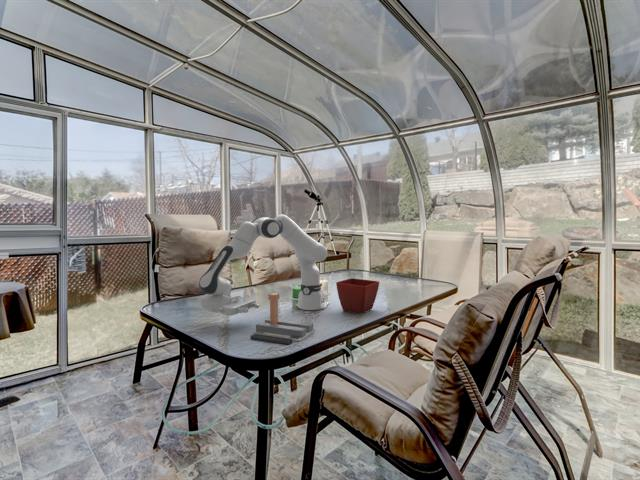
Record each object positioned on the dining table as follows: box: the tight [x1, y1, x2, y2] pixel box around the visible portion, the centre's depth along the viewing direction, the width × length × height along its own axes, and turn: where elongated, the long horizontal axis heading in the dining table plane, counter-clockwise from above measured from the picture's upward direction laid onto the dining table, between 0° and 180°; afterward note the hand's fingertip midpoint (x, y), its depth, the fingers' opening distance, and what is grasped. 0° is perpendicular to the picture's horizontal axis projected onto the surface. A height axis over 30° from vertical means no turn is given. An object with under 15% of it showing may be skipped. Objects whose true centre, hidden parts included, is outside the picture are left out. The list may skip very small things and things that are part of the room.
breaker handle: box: [268, 292, 280, 324], centre depth 164 cm, size 4×4×16 cm
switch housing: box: [252, 317, 316, 342], centre depth 162 cm, size 16×24×4 cm
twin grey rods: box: [250, 334, 294, 345], centre depth 151 cm, size 4×20×2 cm, turn 67°
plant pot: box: [335, 277, 380, 314], centre depth 202 cm, size 19×19×17 cm
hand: (253, 308), depth 168 cm, fingers open, 8 cm apart
